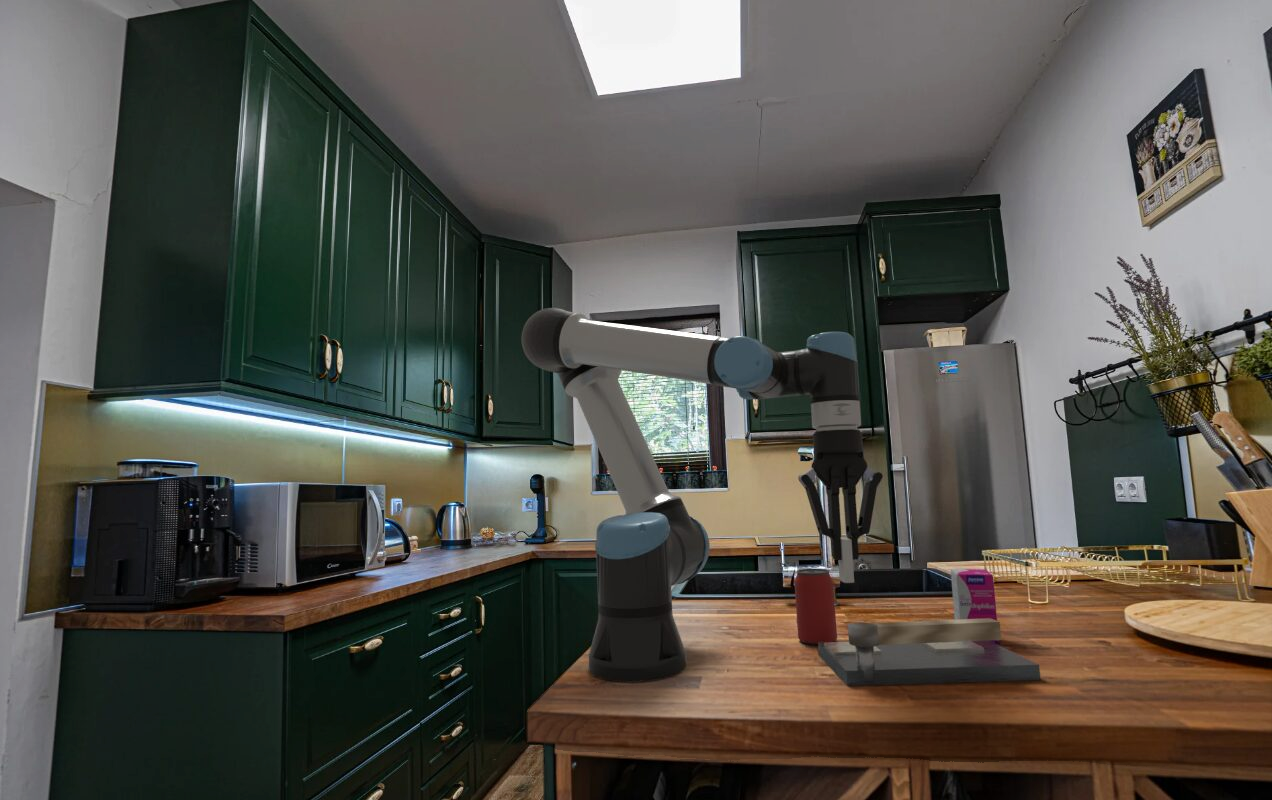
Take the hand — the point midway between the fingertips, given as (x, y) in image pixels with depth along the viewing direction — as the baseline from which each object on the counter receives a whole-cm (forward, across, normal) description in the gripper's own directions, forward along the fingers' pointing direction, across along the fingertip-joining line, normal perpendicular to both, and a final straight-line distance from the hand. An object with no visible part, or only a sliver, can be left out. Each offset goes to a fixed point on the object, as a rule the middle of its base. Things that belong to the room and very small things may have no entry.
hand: (846, 581), depth 103 cm
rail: (+7, +7, -10) cm, 14 cm away
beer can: (+12, -2, +14) cm, 19 cm away
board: (+12, +9, -3) cm, 15 cm away
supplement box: (+12, +24, +11) cm, 29 cm away
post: (+12, -1, -10) cm, 16 cm away
